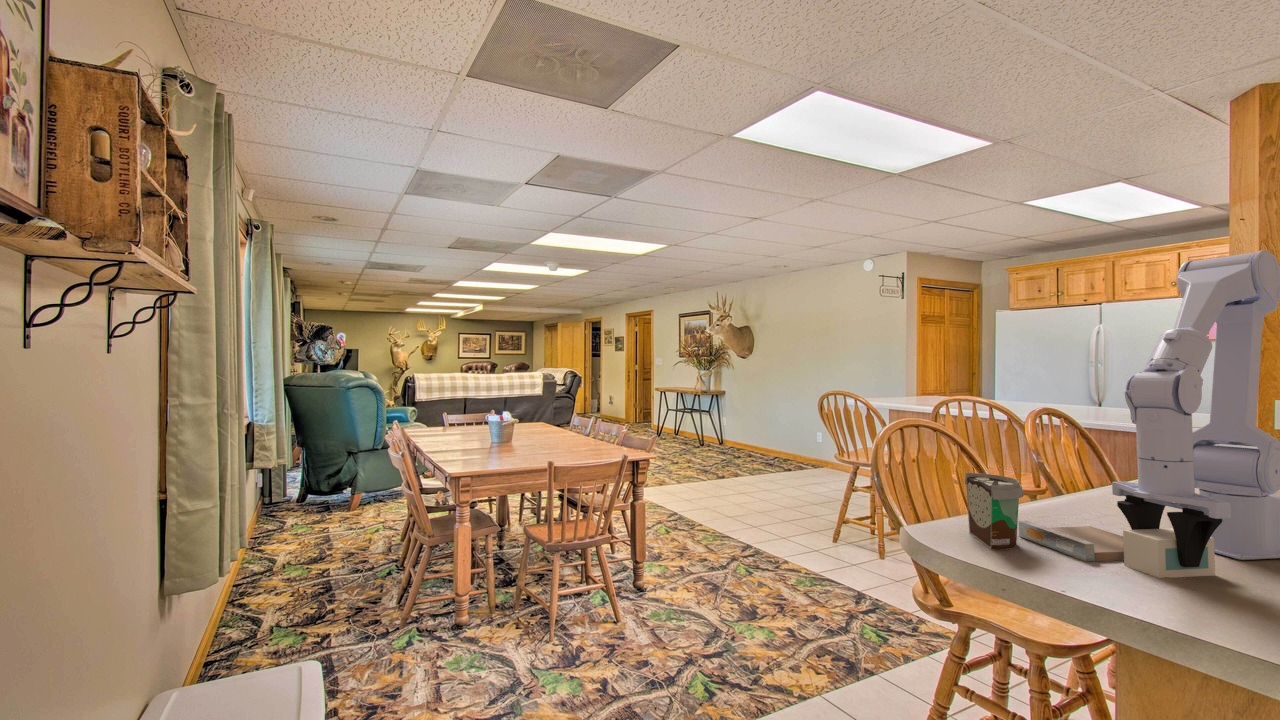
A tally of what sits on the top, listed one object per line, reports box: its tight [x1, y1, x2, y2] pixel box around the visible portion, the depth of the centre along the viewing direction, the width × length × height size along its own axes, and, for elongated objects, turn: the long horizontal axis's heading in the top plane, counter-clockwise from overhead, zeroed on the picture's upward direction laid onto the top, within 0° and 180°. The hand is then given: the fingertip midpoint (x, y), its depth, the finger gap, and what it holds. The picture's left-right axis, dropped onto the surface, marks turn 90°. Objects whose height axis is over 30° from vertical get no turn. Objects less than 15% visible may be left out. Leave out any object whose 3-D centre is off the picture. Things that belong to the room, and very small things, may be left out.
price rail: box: [1018, 520, 1096, 563], centre depth 89 cm, size 2×13×2 cm, turn 5°
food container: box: [964, 472, 1025, 551], centre depth 93 cm, size 12×6×10 cm, turn 168°
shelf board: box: [1049, 525, 1124, 562], centre depth 89 cm, size 11×13×1 cm
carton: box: [1122, 527, 1216, 579], centre depth 79 cm, size 8×5×5 cm, turn 94°
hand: (1168, 559), depth 79 cm, fingers closed on carton, 5 cm apart
